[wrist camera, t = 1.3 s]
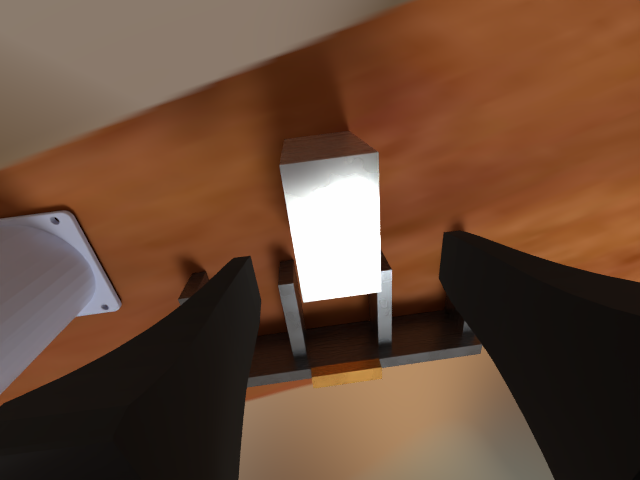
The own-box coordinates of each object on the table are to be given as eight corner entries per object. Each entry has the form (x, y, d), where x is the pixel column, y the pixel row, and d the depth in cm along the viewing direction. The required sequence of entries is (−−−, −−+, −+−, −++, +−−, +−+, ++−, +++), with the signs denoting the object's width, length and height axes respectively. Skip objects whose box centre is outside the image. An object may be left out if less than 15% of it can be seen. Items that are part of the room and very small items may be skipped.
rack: (221, 351, 25) (206, 403, 21) (192, 273, 22) (167, 318, 17) (454, 318, 26) (486, 363, 21) (465, 236, 22) (506, 271, 18)
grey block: (300, 240, 21) (303, 302, 15) (284, 139, 18) (279, 165, 12) (355, 232, 21) (381, 291, 15) (349, 130, 18) (378, 152, 12)
